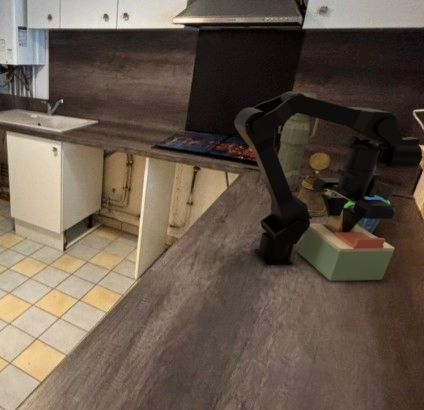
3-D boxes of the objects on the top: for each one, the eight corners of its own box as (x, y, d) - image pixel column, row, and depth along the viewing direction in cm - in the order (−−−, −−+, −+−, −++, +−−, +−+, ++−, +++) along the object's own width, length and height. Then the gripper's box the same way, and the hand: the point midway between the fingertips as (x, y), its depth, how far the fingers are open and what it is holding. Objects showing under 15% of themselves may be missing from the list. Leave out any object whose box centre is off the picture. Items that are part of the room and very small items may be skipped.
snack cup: (344, 240, 98) (355, 206, 94) (317, 223, 108) (327, 192, 104) (396, 237, 100) (409, 204, 96) (365, 221, 109) (376, 190, 105)
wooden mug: (323, 204, 122) (339, 152, 114) (324, 218, 111) (341, 162, 104) (294, 198, 126) (307, 148, 119) (292, 212, 115) (306, 158, 108)
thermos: (299, 194, 129) (326, 94, 116) (264, 188, 135) (285, 91, 121) (301, 187, 136) (326, 91, 122) (267, 181, 142) (288, 89, 128)
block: (336, 236, 85) (340, 222, 83) (325, 229, 88) (329, 215, 87) (351, 236, 85) (356, 222, 83) (340, 229, 88) (345, 215, 87)
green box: (329, 280, 81) (339, 251, 78) (298, 252, 92) (305, 226, 89) (382, 279, 81) (393, 251, 78) (344, 252, 92) (353, 225, 89)
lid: (339, 251, 78) (340, 248, 78) (305, 226, 89) (306, 223, 89) (393, 251, 78) (395, 247, 78) (353, 225, 89) (354, 223, 89)
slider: (353, 248, 77) (356, 239, 77) (333, 234, 83) (336, 226, 82) (383, 248, 78) (386, 239, 77) (361, 234, 84) (364, 225, 83)
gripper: (433, 181, 72) (404, 248, 78) (363, 155, 89) (344, 213, 95) (379, 181, 71) (354, 249, 77) (319, 156, 88) (303, 213, 94)
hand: (339, 229), depth 86 cm, fingers closed on block, 4 cm apart
